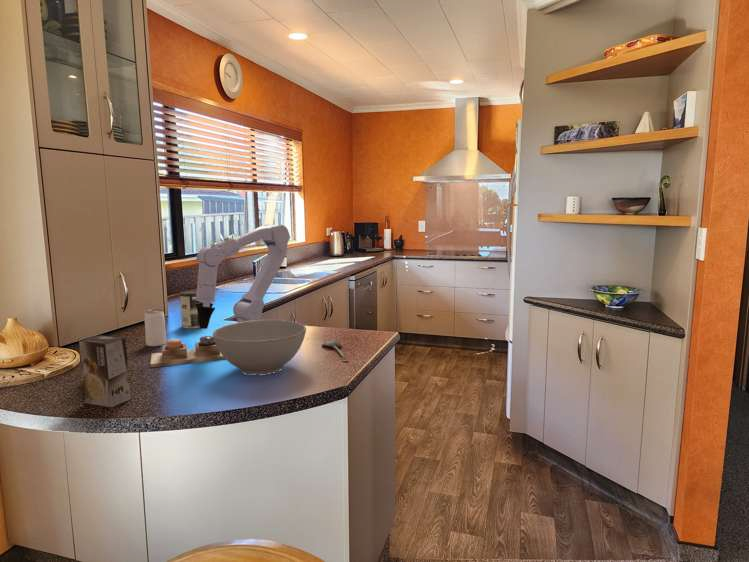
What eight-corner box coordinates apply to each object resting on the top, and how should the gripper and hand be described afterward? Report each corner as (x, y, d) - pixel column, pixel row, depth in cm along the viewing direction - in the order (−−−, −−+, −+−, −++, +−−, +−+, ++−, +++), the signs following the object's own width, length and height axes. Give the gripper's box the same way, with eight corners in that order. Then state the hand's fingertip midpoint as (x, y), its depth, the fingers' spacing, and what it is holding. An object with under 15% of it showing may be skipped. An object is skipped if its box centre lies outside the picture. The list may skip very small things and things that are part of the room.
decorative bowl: (210, 362, 161) (208, 324, 160) (294, 352, 172) (293, 316, 170) (221, 390, 137) (218, 345, 135) (318, 376, 147) (317, 334, 146)
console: (228, 348, 177) (227, 337, 176) (232, 358, 166) (231, 345, 165) (151, 356, 168) (151, 344, 168) (150, 367, 157) (149, 354, 156)
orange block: (181, 347, 167) (181, 338, 167) (182, 351, 163) (181, 341, 163) (167, 349, 166) (166, 339, 165) (167, 352, 162) (166, 343, 161)
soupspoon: (338, 346, 183) (320, 348, 181) (338, 336, 182) (319, 339, 181) (355, 361, 162) (334, 364, 160) (354, 350, 162) (333, 354, 160)
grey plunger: (213, 344, 171) (213, 335, 171) (215, 347, 167) (214, 338, 167) (199, 345, 169) (199, 336, 169) (200, 349, 165) (200, 340, 165)
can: (159, 347, 179) (156, 313, 178) (142, 346, 181) (139, 312, 179) (170, 342, 186) (167, 309, 184) (153, 341, 187) (151, 308, 185)
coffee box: (132, 399, 131) (127, 337, 129) (111, 408, 125) (105, 343, 123) (105, 394, 134) (99, 334, 132) (83, 403, 129) (77, 340, 126)
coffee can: (211, 322, 216) (209, 289, 214) (203, 328, 206) (201, 293, 204) (187, 322, 216) (185, 289, 214) (177, 328, 206) (175, 293, 204)
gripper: (192, 281, 172) (189, 322, 172) (194, 285, 158) (190, 329, 159) (214, 283, 174) (211, 323, 175) (218, 287, 161) (214, 330, 162)
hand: (202, 326), depth 167 cm, fingers open, 7 cm apart
